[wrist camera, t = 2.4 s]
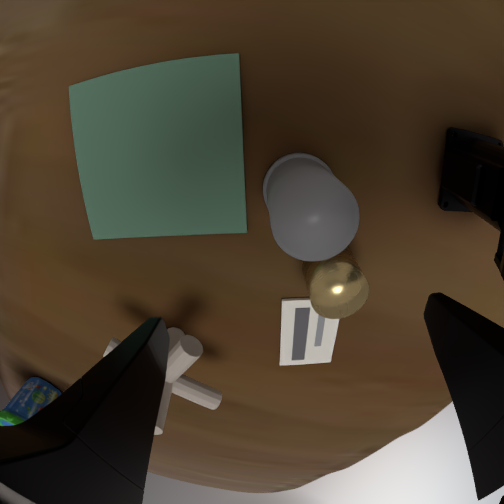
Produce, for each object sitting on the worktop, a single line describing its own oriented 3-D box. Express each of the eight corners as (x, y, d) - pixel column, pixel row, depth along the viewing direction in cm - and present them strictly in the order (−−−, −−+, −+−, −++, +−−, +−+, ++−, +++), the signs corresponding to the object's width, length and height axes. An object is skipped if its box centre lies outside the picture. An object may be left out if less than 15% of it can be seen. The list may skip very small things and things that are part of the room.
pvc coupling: (335, 153, 18) (367, 174, 13) (331, 220, 20) (356, 263, 15) (262, 152, 18) (265, 171, 13) (263, 221, 20) (266, 265, 15)
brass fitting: (355, 240, 21) (373, 268, 17) (349, 284, 23) (363, 316, 19) (303, 241, 21) (312, 270, 18) (300, 287, 23) (308, 320, 19)
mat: (239, 54, 15) (238, 53, 15) (247, 230, 21) (247, 232, 20) (71, 86, 15) (68, 86, 15) (95, 237, 21) (93, 239, 21)
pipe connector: (111, 336, 26) (74, 417, 17) (149, 269, 22) (100, 364, 13) (196, 381, 29) (182, 463, 20) (252, 328, 25) (250, 431, 16)
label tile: (342, 295, 23) (343, 298, 23) (329, 359, 27) (330, 362, 27) (281, 298, 23) (282, 301, 23) (279, 363, 27) (279, 366, 27)
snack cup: (55, 365, 30) (24, 425, 21) (101, 412, 34) (82, 467, 25) (6, 368, 32) (-19, 411, 23) (45, 407, 37) (26, 450, 28)
